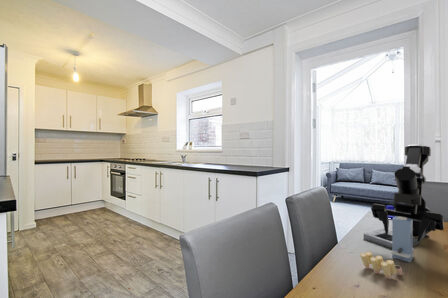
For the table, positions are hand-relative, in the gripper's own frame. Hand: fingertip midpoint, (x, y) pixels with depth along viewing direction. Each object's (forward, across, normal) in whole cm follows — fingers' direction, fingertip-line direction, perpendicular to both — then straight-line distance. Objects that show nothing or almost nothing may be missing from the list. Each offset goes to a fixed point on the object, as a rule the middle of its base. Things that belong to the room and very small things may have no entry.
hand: (401, 237), depth 72 cm
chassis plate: (-6, -6, +15) cm, 17 cm away
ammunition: (+16, -3, -6) cm, 17 cm away
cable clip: (-32, -11, +42) cm, 54 cm away
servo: (+4, 0, +6) cm, 7 cm away
